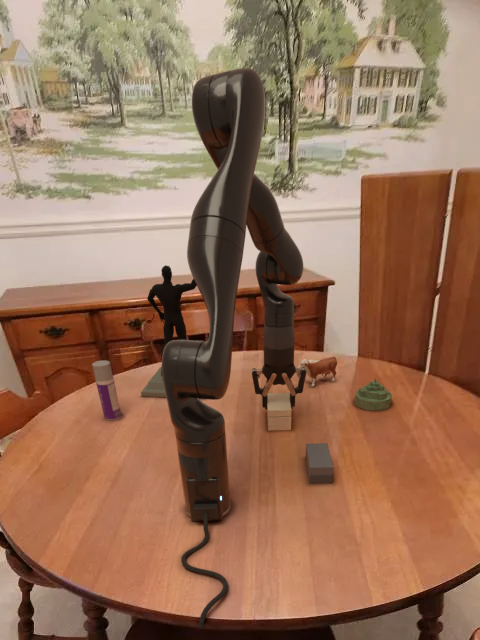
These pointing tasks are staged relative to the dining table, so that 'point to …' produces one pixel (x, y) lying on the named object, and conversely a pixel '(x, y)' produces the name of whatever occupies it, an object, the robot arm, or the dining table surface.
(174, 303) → the statue
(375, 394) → the decorative artifact
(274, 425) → the small cream box
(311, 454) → the grey stack
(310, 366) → the bull figurine
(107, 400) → the container
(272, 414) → the beige rectangular block
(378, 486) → the dining table surface
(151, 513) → the dining table surface
